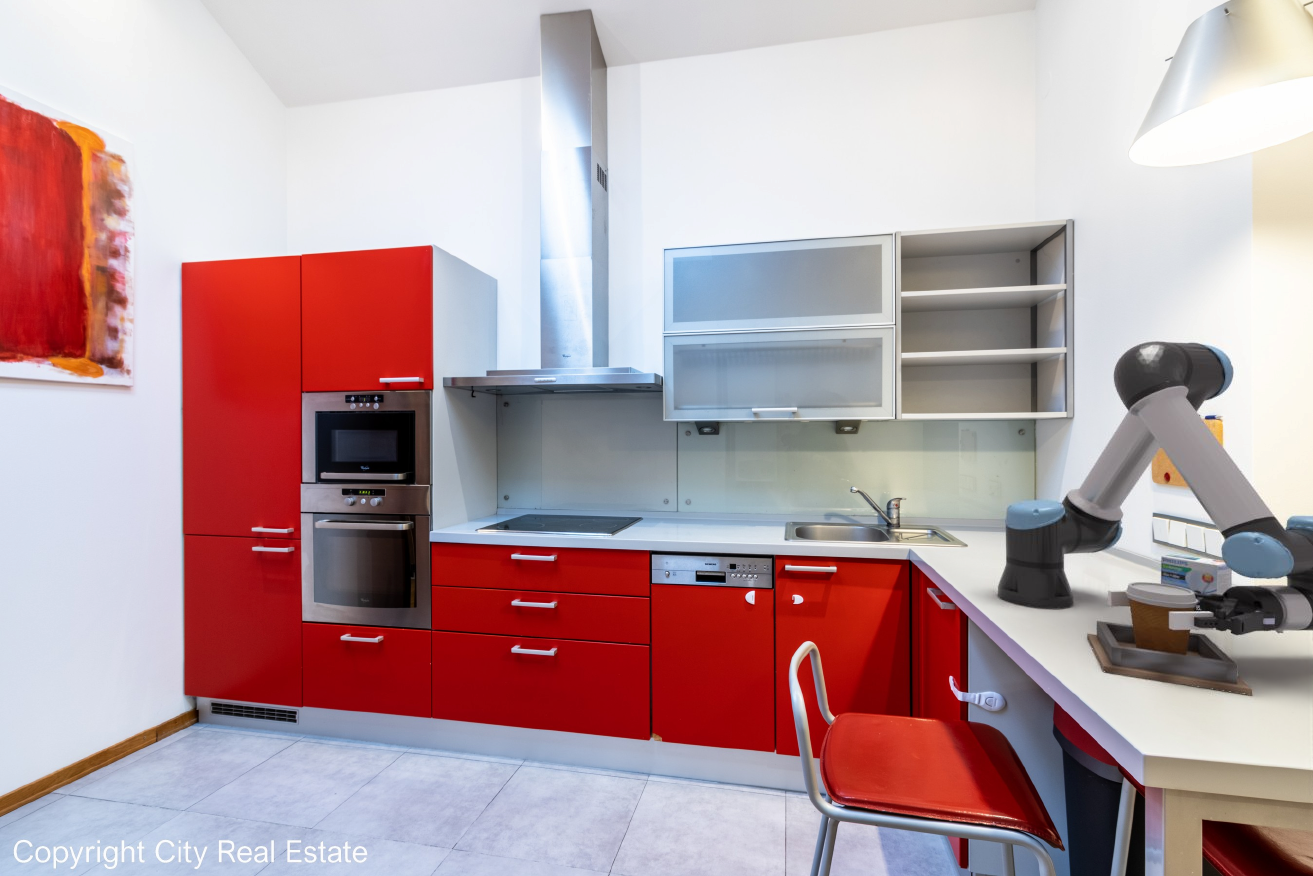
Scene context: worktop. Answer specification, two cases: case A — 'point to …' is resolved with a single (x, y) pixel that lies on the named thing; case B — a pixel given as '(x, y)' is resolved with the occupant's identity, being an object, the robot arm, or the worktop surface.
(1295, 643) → the worktop surface
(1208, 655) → the cup holder plate
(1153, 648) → the disposable coffee cup
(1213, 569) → the light bulb box
